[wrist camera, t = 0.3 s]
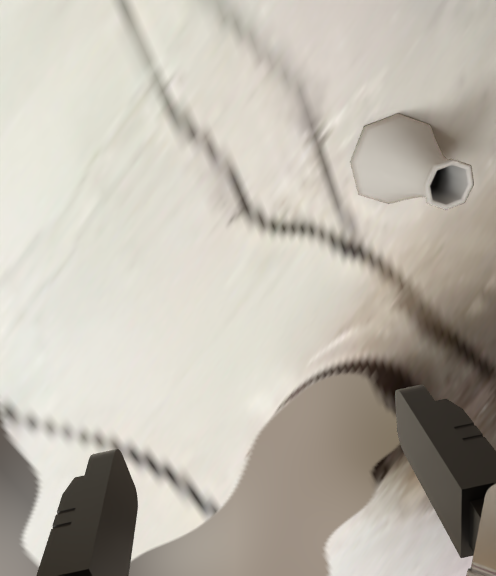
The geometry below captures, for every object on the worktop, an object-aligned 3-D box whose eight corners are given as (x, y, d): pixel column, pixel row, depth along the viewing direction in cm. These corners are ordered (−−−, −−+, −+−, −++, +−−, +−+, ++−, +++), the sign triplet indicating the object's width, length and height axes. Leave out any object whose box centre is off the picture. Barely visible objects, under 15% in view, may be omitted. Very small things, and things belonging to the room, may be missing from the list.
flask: (352, 114, 37) (401, 127, 28) (440, 112, 38) (516, 123, 29) (346, 204, 40) (388, 242, 31) (428, 201, 41) (493, 237, 32)
